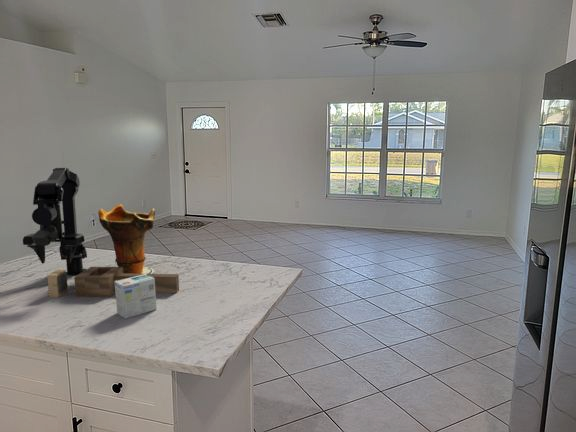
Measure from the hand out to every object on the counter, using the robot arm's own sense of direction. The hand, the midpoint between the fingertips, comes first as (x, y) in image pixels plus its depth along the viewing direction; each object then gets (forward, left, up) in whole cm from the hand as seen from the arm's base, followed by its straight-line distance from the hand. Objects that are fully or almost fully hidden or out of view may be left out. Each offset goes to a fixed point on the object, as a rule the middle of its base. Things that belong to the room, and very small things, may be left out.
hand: (56, 263), depth 148 cm
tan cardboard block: (0, 0, -11) cm, 11 cm away
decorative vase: (-24, +16, -12) cm, 31 cm away
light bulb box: (+14, +33, -12) cm, 38 cm away
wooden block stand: (-4, +24, -11) cm, 27 cm away
